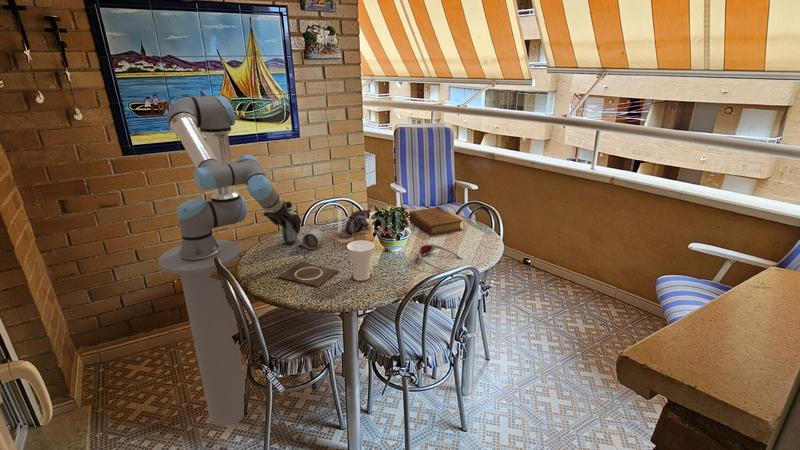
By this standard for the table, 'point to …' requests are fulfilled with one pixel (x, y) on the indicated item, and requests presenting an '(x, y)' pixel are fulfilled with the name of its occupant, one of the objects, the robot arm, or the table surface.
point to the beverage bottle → (285, 220)
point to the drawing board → (308, 274)
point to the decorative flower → (357, 221)
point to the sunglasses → (428, 249)
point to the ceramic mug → (312, 239)
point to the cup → (360, 258)
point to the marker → (290, 233)
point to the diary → (435, 221)
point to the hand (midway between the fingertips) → (294, 230)
